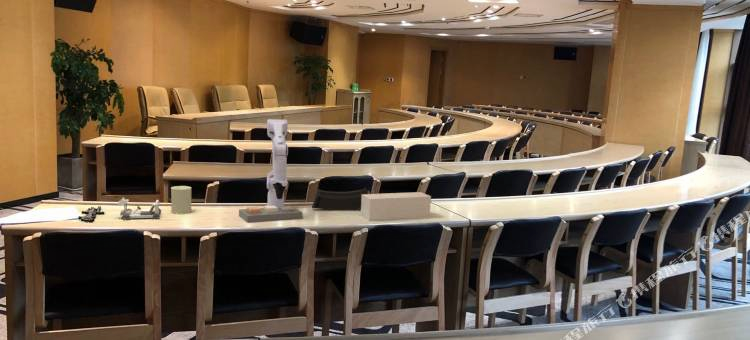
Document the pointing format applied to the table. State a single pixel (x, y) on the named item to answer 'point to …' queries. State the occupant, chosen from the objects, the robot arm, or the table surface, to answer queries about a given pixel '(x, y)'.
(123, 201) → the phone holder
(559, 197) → the table surface
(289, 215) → the keypad
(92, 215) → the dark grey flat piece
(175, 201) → the can
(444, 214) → the table surface
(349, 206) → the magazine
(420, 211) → the beige rectangular block
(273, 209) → the key cream
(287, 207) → the key slate
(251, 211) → the key terracotta
